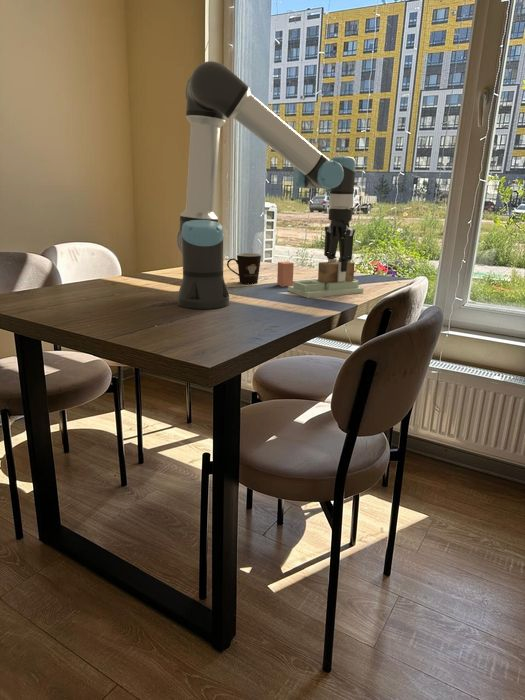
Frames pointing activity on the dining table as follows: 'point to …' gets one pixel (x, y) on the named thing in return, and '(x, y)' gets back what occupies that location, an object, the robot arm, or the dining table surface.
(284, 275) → the red block
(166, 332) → the dining table surface
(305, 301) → the dining table surface
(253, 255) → the coffee mug
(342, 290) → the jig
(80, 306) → the dining table surface
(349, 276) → the brown wooden block
